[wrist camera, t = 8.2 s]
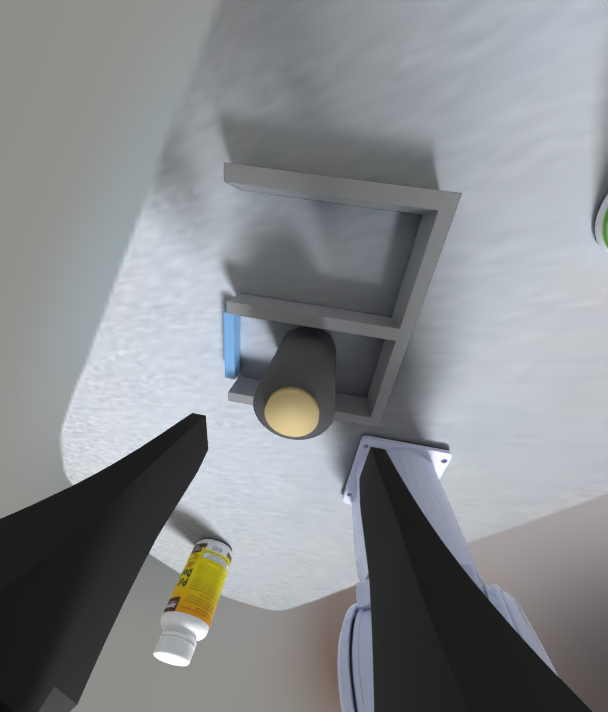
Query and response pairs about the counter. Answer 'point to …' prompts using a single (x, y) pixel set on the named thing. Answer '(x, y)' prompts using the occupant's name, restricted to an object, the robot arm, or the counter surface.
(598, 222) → the supplement bottle
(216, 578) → the supplement bottle
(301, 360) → the plug
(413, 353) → the counter surface
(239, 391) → the grey divided frame
